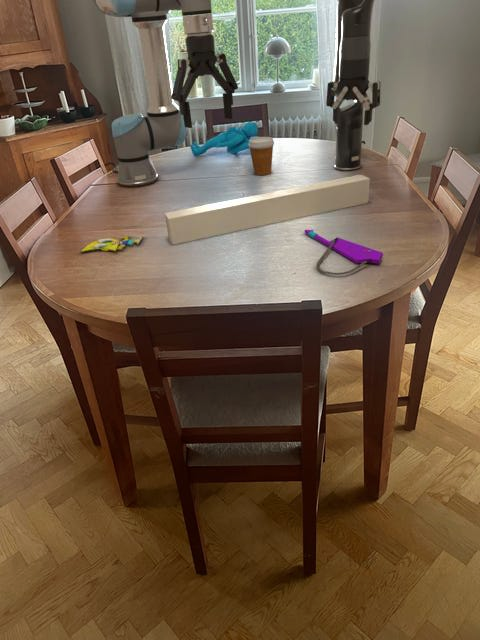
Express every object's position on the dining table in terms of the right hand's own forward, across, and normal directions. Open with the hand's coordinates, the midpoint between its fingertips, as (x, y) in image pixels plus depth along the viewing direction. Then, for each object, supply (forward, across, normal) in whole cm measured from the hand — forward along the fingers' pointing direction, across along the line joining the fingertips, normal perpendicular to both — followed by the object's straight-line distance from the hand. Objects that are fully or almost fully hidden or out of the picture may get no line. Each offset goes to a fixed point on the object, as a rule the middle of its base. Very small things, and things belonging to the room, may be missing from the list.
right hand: (351, 123), depth 131 cm
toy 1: (+24, +47, +51) cm, 74 cm away
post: (+24, +16, +17) cm, 33 cm away
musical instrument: (+24, -10, +32) cm, 41 cm away
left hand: (-3, +34, +19) cm, 39 cm away
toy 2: (+24, +74, -40) cm, 88 cm away
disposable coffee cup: (+24, +44, -22) cm, 54 cm away
